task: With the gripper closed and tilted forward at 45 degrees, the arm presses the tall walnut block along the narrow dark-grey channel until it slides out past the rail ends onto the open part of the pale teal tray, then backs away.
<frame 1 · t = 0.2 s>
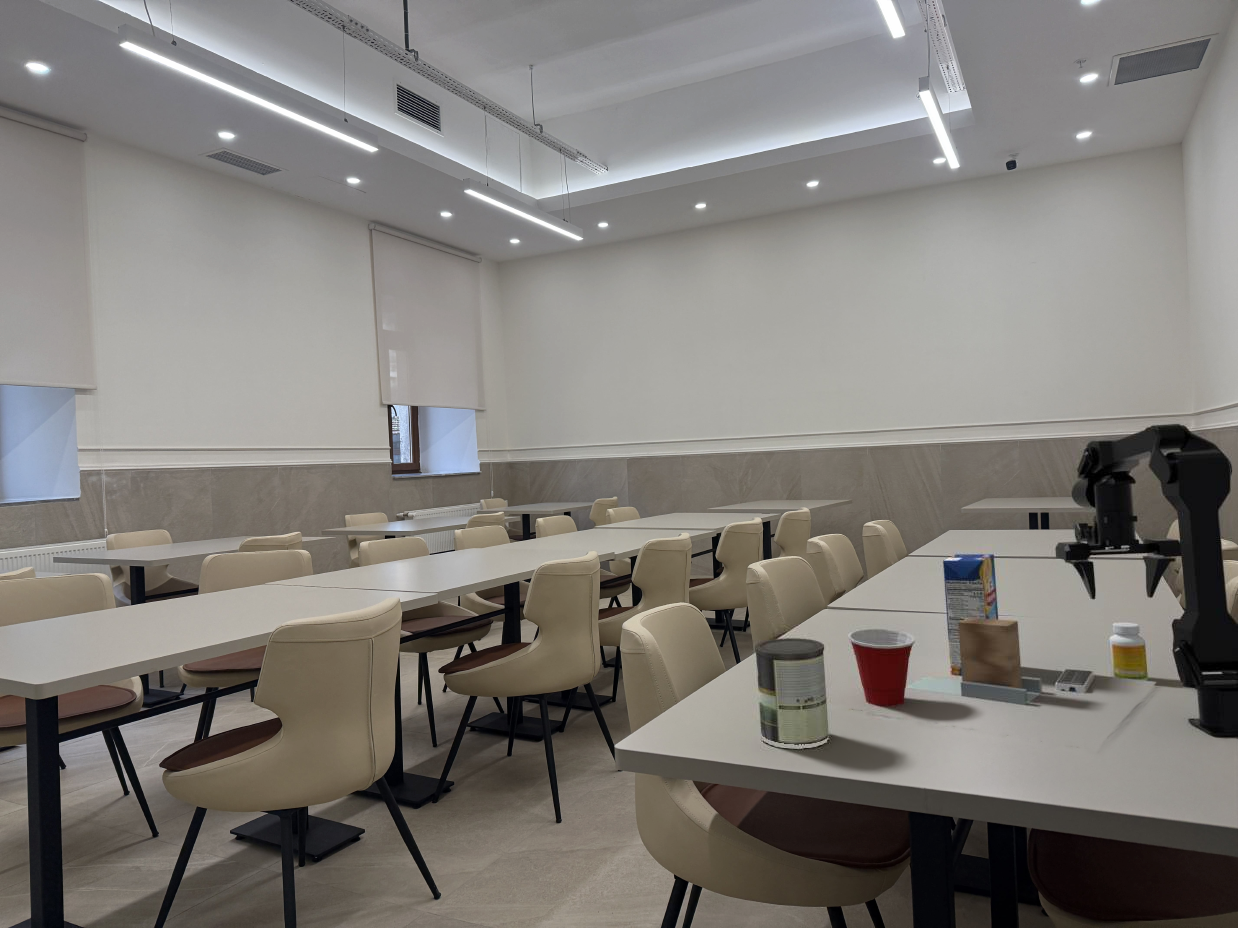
hand: (1121, 598, 140), 14 cm above the table, tool pointing down, fingers open, 9 cm apart
coffee can: (795, 739, 120), on the table
supplement bottle: (1129, 680, 140), on the table
block: (992, 692, 135), point 1 cm above the table, touching chute
beverage box: (977, 674, 150), on the table
plastic cup: (886, 707, 133), on the table
multiport hub: (1075, 691, 137), on the table
chute: (971, 694, 137), on the table
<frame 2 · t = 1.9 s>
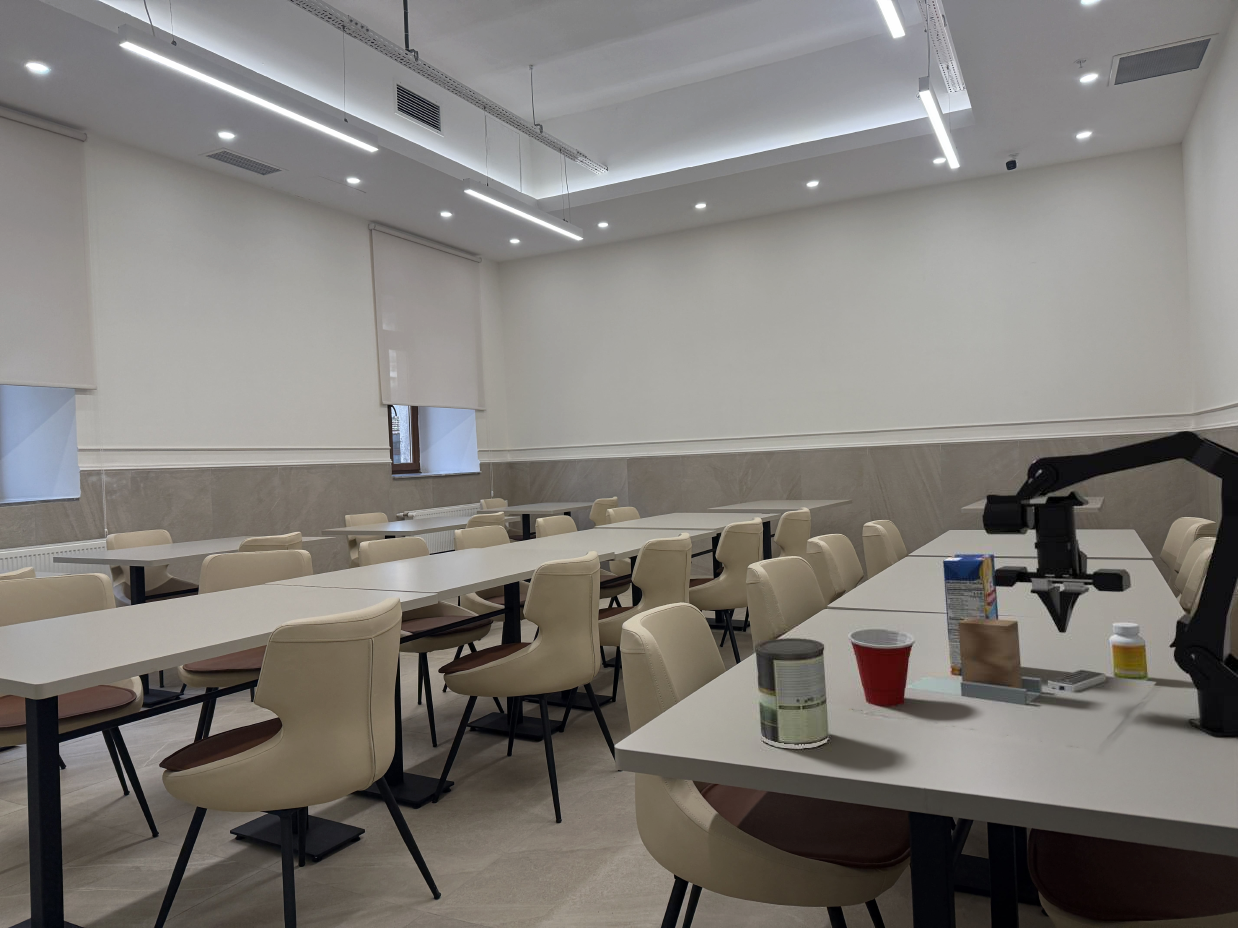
hand: (1062, 632, 127), 12 cm above the table, tool pointing down, fingers closed
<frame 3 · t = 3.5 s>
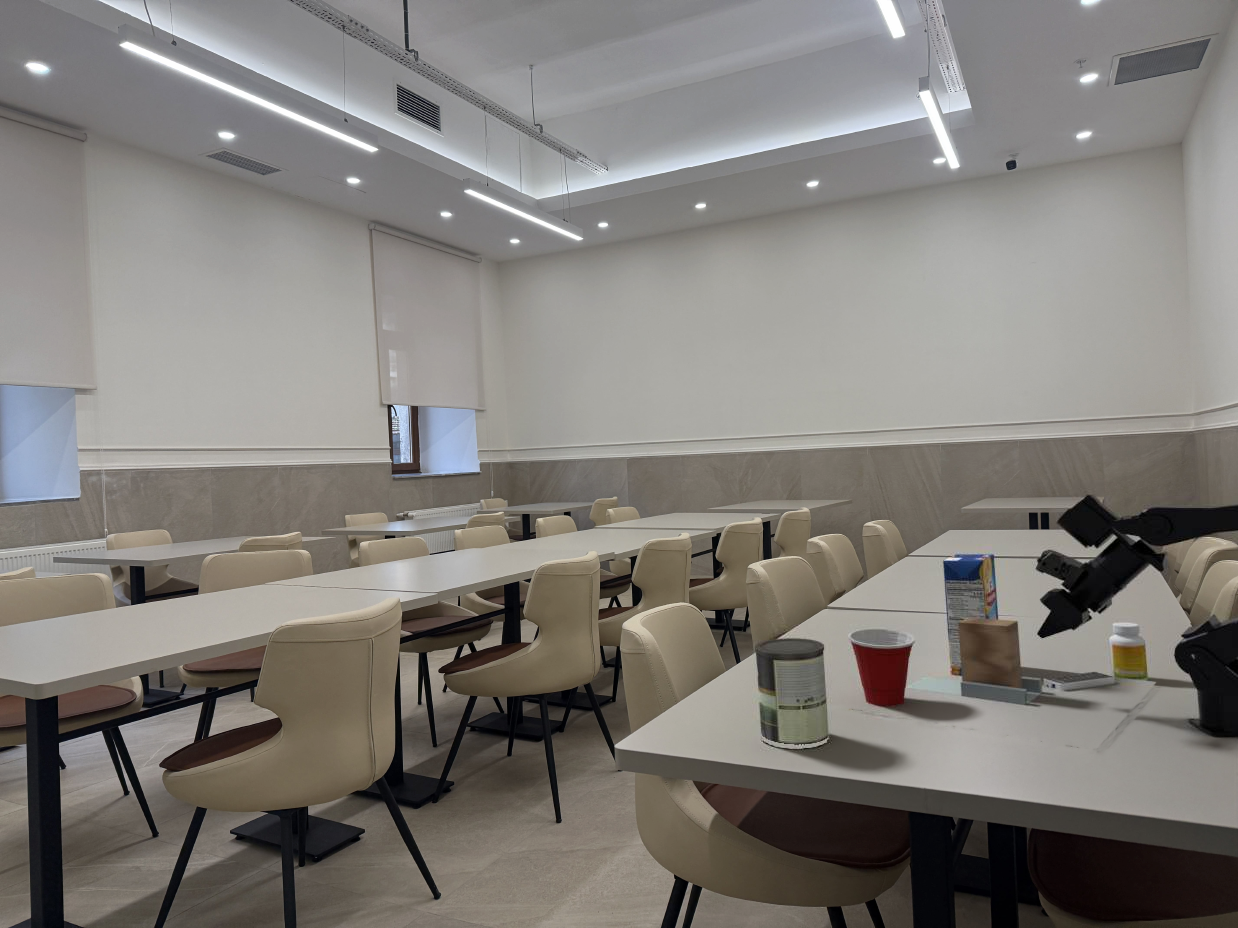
hand: (1039, 635, 129), 11 cm above the table, tool tilted 45°, fingers closed
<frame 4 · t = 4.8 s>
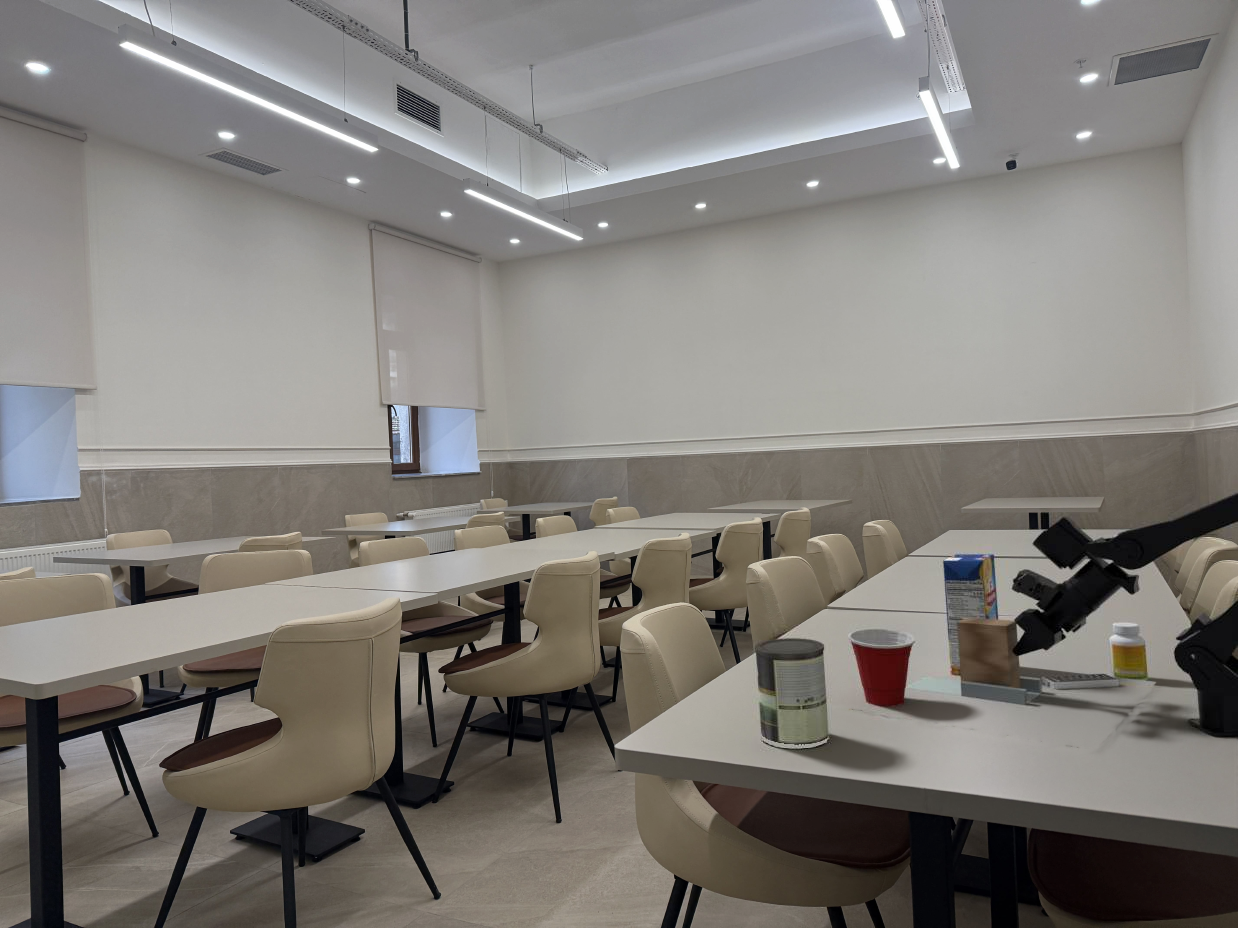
hand: (1015, 653, 132), 8 cm above the table, tool tilted 45°, fingers closed, pressing on block
block: (991, 692, 135), point 1 cm above the table, touching chute, gripper
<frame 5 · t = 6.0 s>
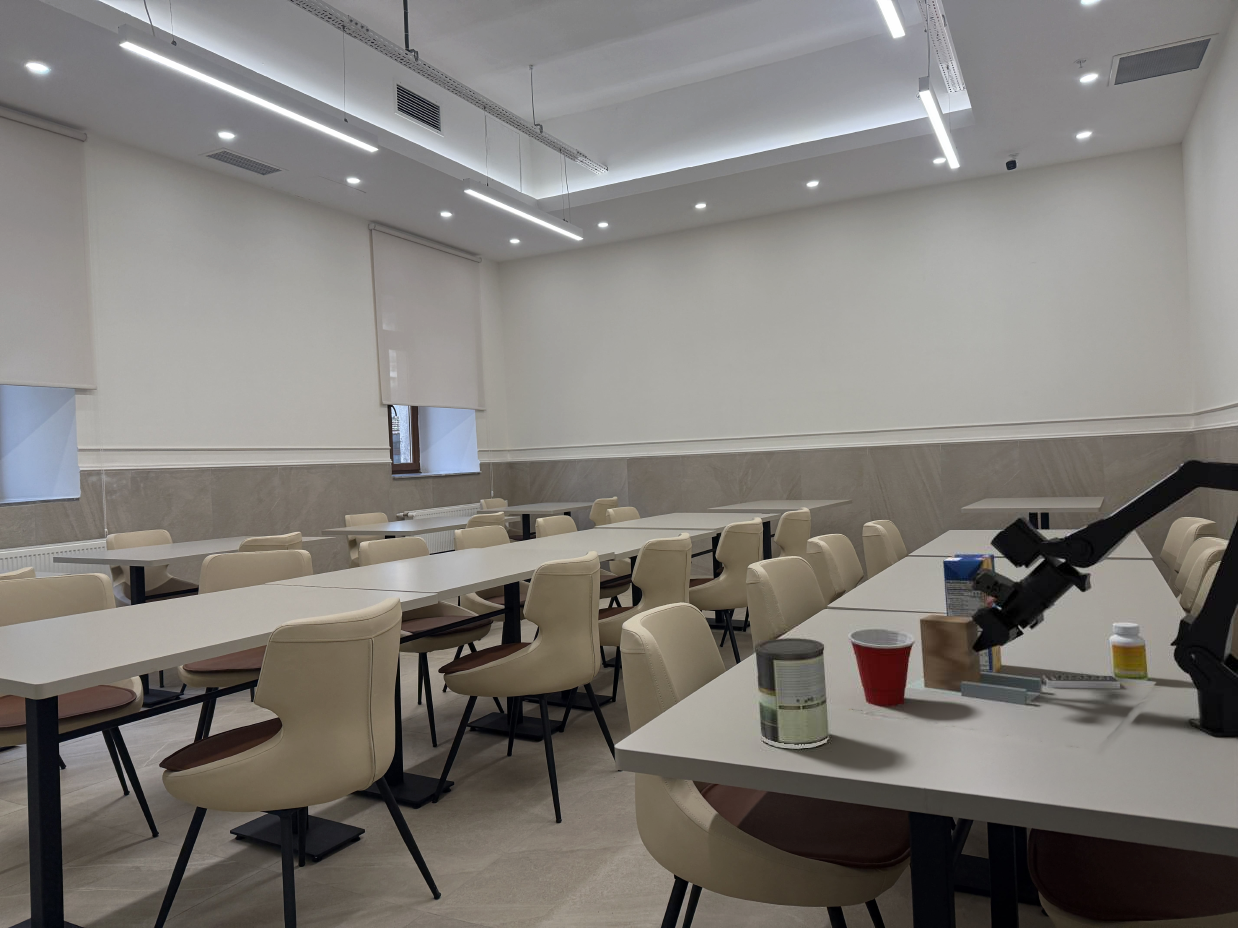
hand: (975, 649, 136), 8 cm above the table, tool tilted 45°, fingers closed, pressing on block
block: (952, 686, 139), point 1 cm above the table, touching chute, gripper
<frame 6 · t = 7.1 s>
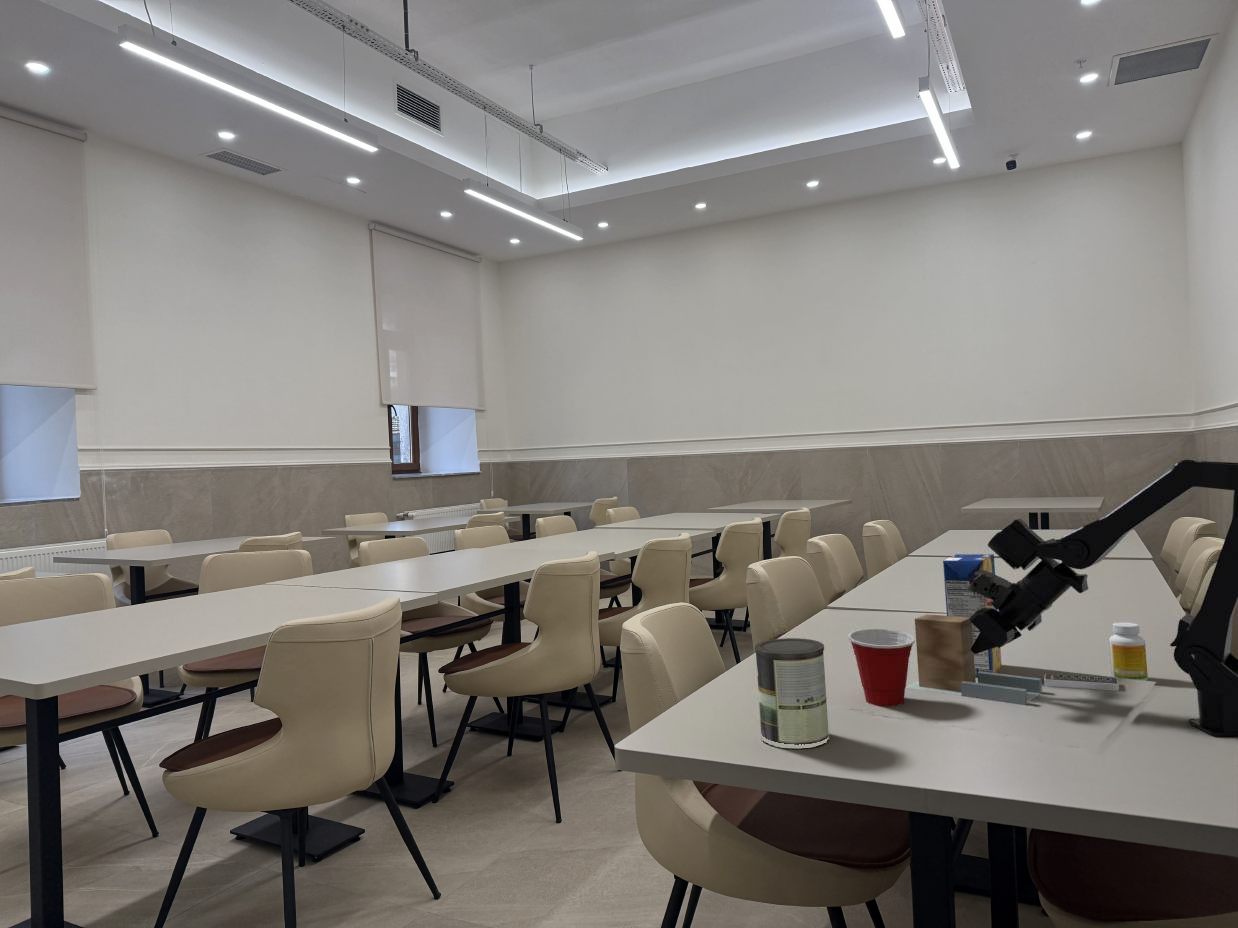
hand: (973, 651, 137), 7 cm above the table, tool tilted 45°, fingers closed
block: (947, 686, 140), point 1 cm above the table, touching chute
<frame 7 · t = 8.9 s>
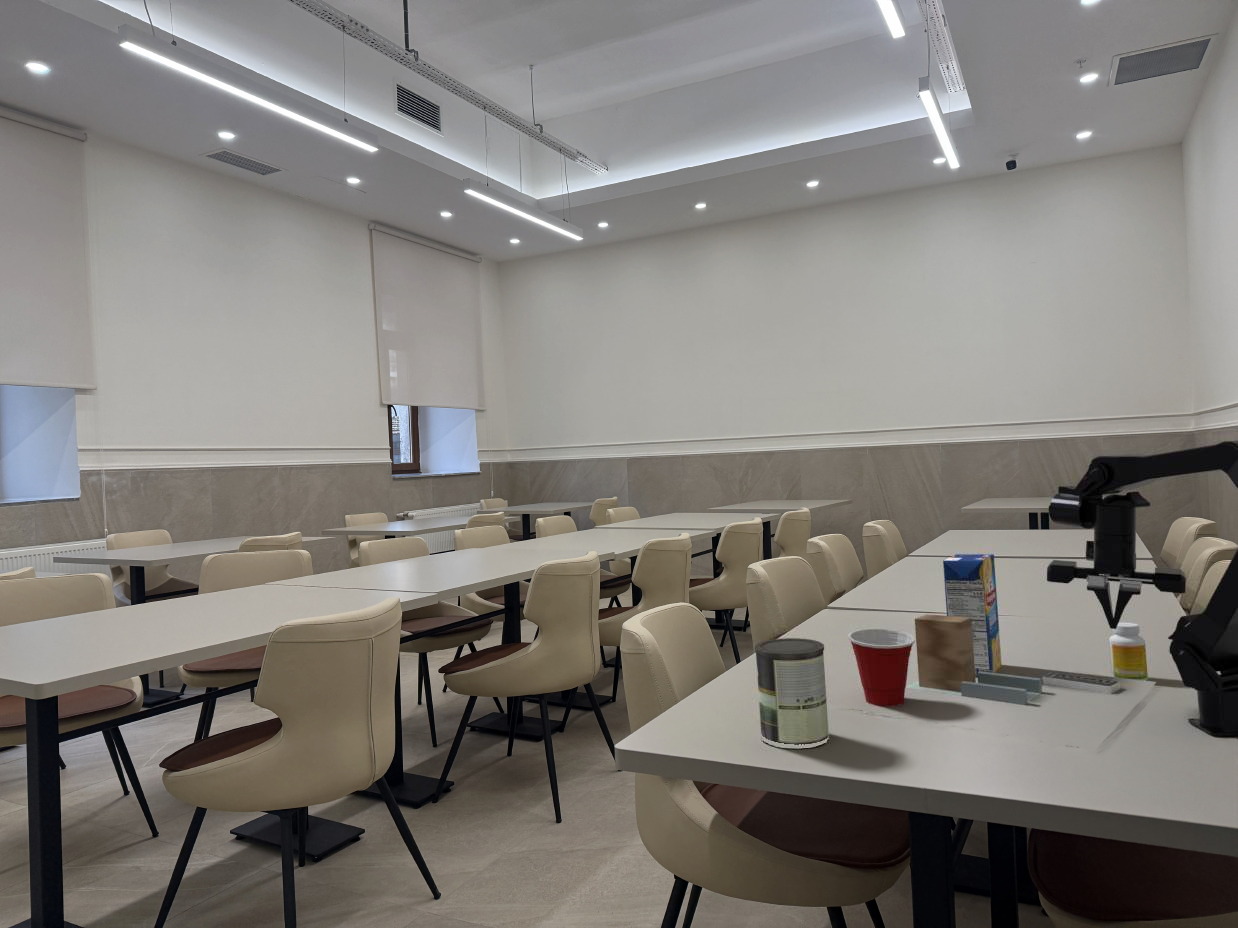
hand: (1113, 628, 129), 12 cm above the table, tool pointing down, fingers closed
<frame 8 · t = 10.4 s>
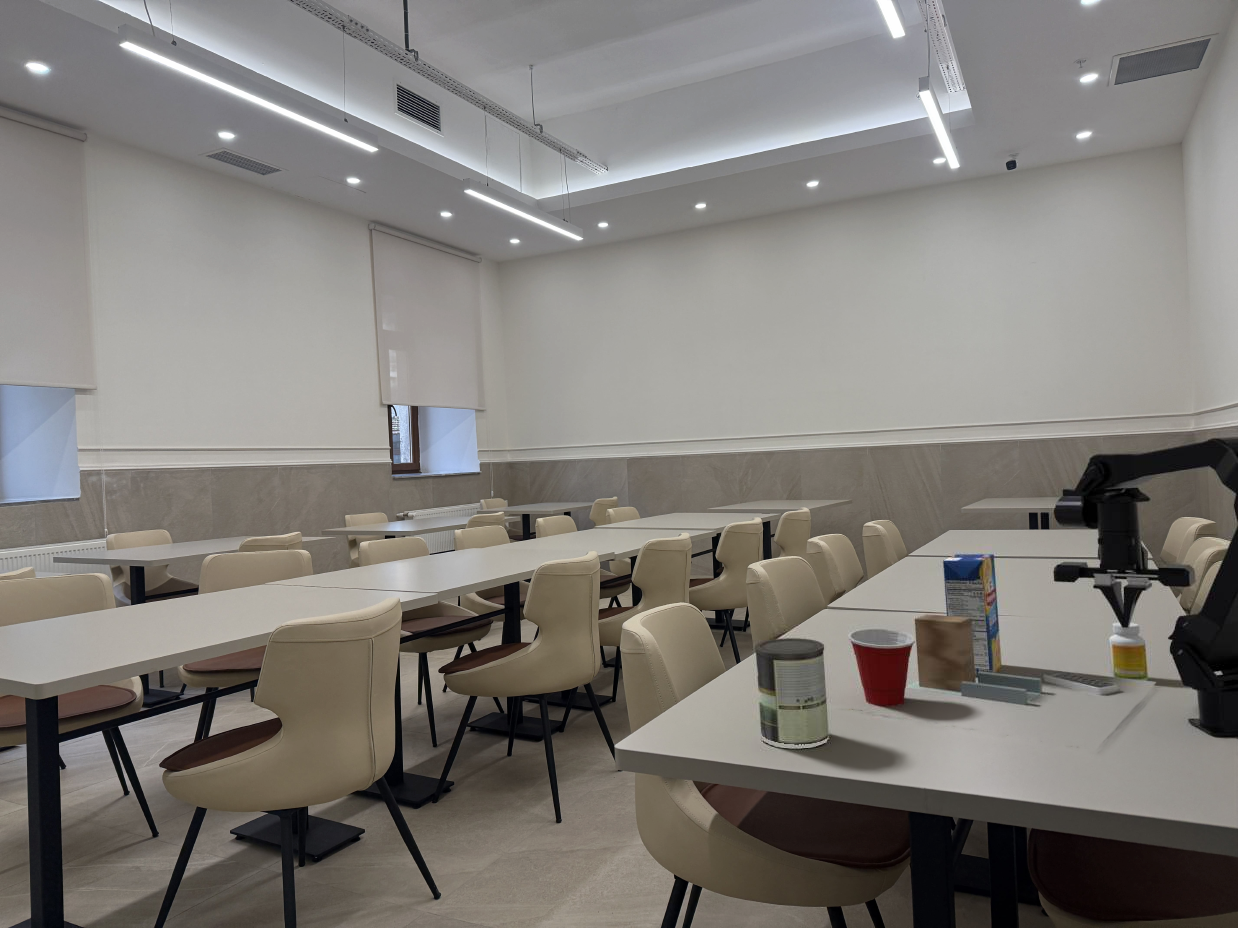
hand: (1125, 627, 128), 12 cm above the table, tool pointing down, fingers closed
at the end: block inside the target area (2.6 cm from its centre), point 0.8 cm above the table; block tilted 0°; block moved 7.6 cm from its start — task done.
